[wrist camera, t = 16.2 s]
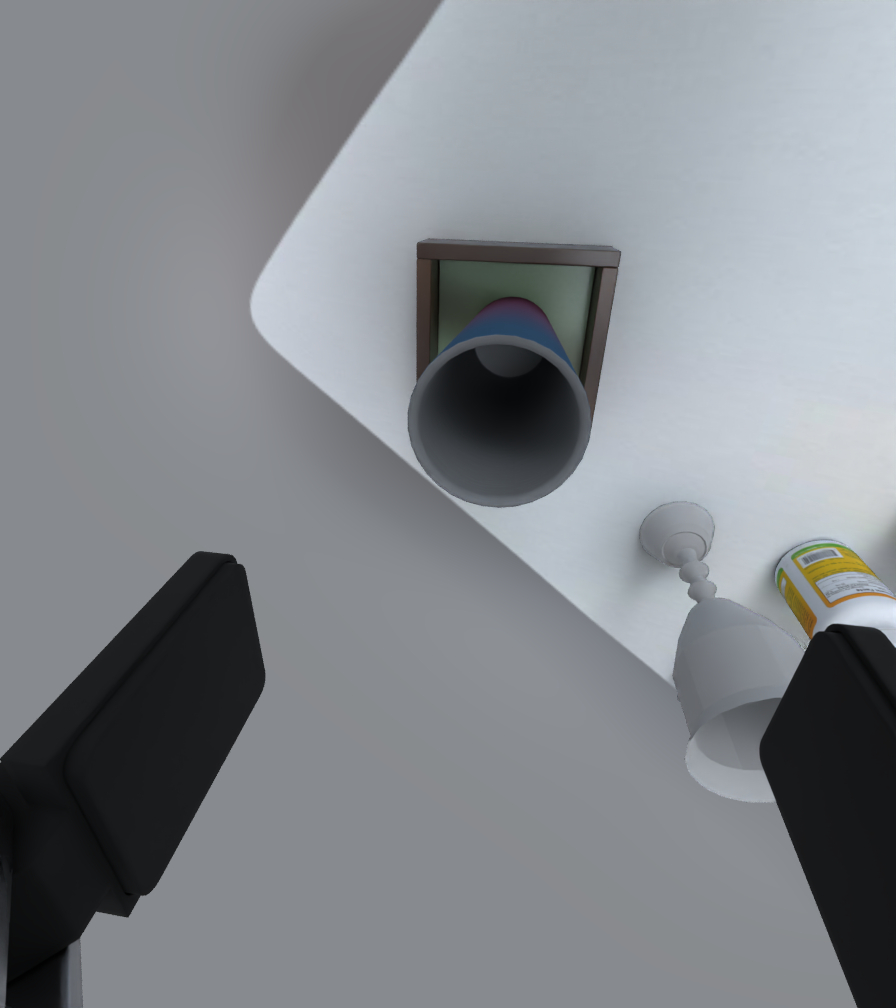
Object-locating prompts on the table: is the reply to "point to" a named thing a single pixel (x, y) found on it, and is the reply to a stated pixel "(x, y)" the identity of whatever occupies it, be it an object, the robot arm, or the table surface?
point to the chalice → (721, 662)
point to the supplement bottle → (834, 589)
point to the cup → (500, 409)
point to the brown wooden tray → (518, 294)
